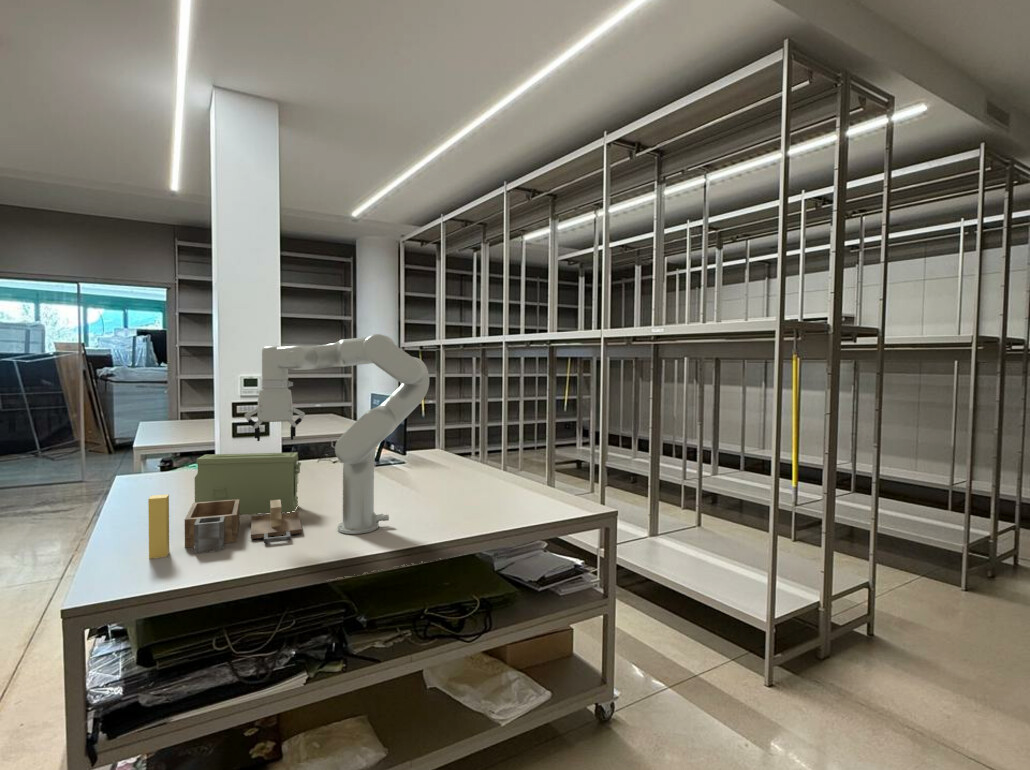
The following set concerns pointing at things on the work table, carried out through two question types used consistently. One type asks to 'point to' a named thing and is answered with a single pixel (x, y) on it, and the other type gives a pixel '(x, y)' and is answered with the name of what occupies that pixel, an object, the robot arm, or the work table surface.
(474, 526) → the work table surface
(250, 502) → the ammunition box
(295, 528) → the lid
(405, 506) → the work table surface
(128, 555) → the work table surface
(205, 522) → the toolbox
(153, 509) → the yellow rectangular block
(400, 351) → the robot arm
